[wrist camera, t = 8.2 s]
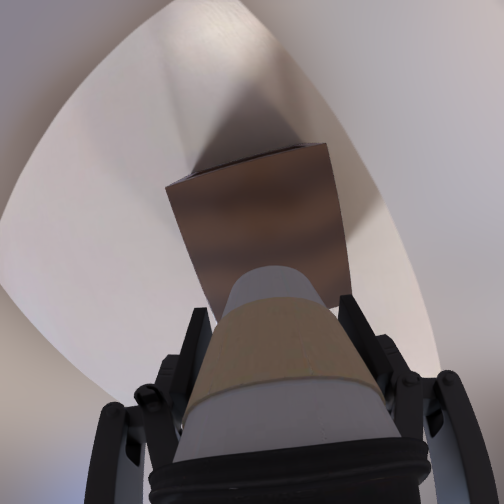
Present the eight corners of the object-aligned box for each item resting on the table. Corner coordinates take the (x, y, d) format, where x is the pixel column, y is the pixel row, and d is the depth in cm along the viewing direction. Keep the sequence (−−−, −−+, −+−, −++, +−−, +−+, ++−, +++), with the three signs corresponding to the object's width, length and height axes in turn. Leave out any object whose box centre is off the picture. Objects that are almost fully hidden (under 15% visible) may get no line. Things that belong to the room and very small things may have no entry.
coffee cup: (248, 368, 21) (245, 552, 7) (174, 280, 18) (77, 506, 4) (358, 318, 19) (440, 505, 5) (303, 206, 16) (465, 465, 2)
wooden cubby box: (190, 174, 36) (164, 187, 25) (304, 143, 34) (326, 142, 24) (228, 287, 42) (221, 334, 32) (329, 262, 41) (353, 302, 30)
